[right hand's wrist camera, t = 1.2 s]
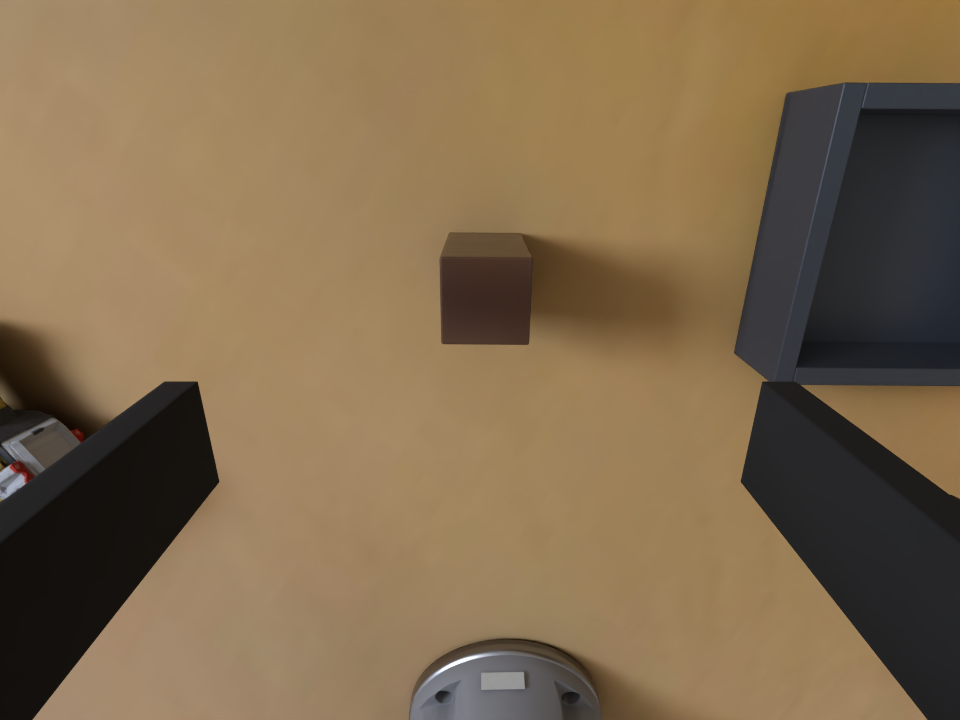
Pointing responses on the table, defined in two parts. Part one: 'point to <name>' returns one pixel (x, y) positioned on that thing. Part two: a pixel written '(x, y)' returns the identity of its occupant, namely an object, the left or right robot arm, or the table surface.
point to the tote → (860, 240)
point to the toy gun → (30, 445)
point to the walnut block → (485, 289)
